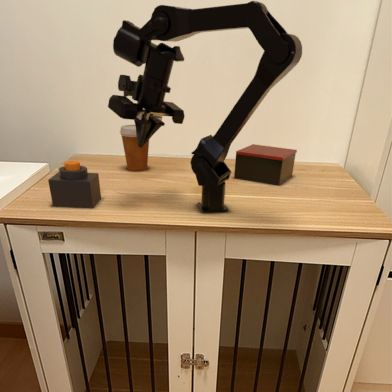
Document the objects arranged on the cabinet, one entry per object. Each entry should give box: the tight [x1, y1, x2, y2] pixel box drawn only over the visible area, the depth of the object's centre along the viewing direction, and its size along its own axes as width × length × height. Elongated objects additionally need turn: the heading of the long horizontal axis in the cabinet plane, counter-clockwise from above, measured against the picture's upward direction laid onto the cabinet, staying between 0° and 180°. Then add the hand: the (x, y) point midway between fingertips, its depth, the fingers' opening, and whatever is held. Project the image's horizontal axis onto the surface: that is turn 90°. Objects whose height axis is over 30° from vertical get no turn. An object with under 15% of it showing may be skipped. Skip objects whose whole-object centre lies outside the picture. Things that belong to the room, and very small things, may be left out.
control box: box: [47, 165, 102, 209], centre depth 101 cm, size 10×8×8 cm
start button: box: [63, 160, 81, 171], centre depth 98 cm, size 4×4×2 cm
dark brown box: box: [233, 152, 297, 186], centre depth 126 cm, size 13×15×7 cm
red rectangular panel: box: [235, 144, 298, 161], centre depth 124 cm, size 13×15×1 cm
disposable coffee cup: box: [119, 124, 150, 172], centre depth 129 cm, size 10×10×12 cm
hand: (139, 146), depth 101 cm, fingers closed
